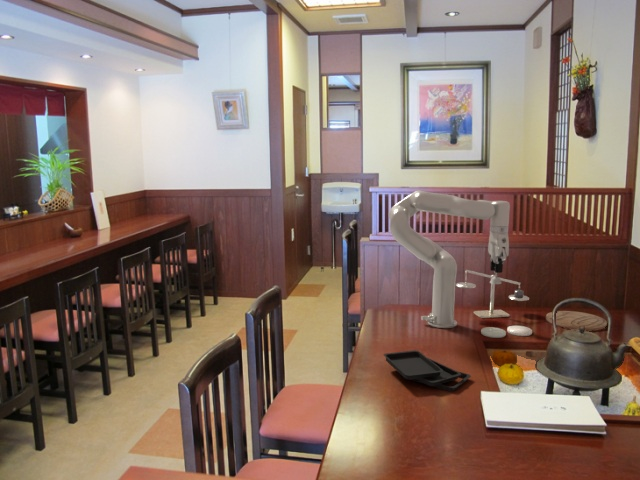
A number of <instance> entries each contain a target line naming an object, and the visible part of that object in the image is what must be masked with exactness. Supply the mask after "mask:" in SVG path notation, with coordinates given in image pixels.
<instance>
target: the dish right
mask: <svg viewBox="0 0 640 480" xmlns="http://www.w3.org/2000/svg"><path fill="white" fill-rule="evenodd" d="M506 333H508V334H510V335H513V336H519V337H528V336H531V335H532V334H533V329H532V328H530V327H527V326H523V325H510V326H507V330H506Z"/></svg>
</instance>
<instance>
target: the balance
mask: <svg viewBox="0 0 640 480" xmlns="http://www.w3.org/2000/svg"><path fill="white" fill-rule="evenodd" d="M464 272H465V282H463V281H462V282H457V283H456V282H455V287H456V288H458V289H460V288H461V289H475V288H476V287H477V285H476V284H475V283H472V282H467V276H468V273H469V274H472V275H476V276H481V277H485V278H489V279H490V280H491V279H492V277H494V276H495V274H491V275H489V274H486V273H482V272H477V271H474V270H468V269H465V271H464ZM499 278H500V280H501V282H506V283H509V284H514V285H518V289H514V294H510V295H508V299H509V300H513V301H517V302H527V301H529V300H530V297H528V296H527V295H524V294H525V293H524V292H525V291H524V290H523V289H521V282H518V281H515V280H511V279H505V278H502V277H499ZM495 287H496V284H492V283H490V298H489V309H487V310H473V314H474V315H475V316H477V317H479V318H480V319H489V318H507V317H509V318H510V314H509V313H508V312H506V311H504V310H502V309H494V308H495V307H494V304H495Z"/></svg>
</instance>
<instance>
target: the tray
mask: <svg viewBox="0 0 640 480" xmlns="http://www.w3.org/2000/svg"><path fill="white" fill-rule="evenodd" d="M383 356H384V357H385V362H387V364H389V365H390V366H391V367H392V368H393V369H394V370H395V371H396V372H397V373H399V374H400V375H401V376H402V377H403V378H404V379H406V380H410V381H414V382H418V383H420V384H424V385H426V386H429V387H435V388H437V389H441V390H444V391H447V392H454V391H456V389H457V388H459V387H460V386H462V385H463V384H464V383H466V382H467V381H468V380H469V378H471V374H469V373H465V372H461V371H457V370H454V369H452V368H450V367H448V366H447V365H444V364H442V363H440V362H437V361H436V360H433V359H432V358H430V357H427V356H426V355H425V354H423V353H422V352H421V351H419V350H414V349H413V350H407V351H405V350H404V351H397V352H388V353H384V354H383ZM459 378H462V379H461V380H460V381H458V382H457V383H456V384H454V385H453V386H449V385H446V383H449V382H452V381H456V380H458V379H459Z"/></svg>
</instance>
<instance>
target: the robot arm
mask: <svg viewBox="0 0 640 480" xmlns="http://www.w3.org/2000/svg"><path fill="white" fill-rule="evenodd" d="M510 209H511V204H510V202H509V201H505V200H485V199H478V200H474V199H468V198H467V199H466V198H463V197H459V196H457V195H452V194H448V193H446V194H444V193H437V192H430V191H425V190H420V189H419V190H415V191H413V192H411V194H409V195H407V196H406V197H404V198H403V199H402V200H400V201H398V202H397V203H396V204H395V205H394V204H393V206H391V208H390V209H389V211H388V219H389V230H390V234H391V236H392V237H393V239H394V240H395V241H396V242H397V243H398V244H400V245H401V246H402V247H403V248H405V249H406V250H407V251H408V252H410V253H411V254H413V255H414V256H415V257H416V258H417V259H418V260H420V261H423V262H425V263H426V265H427V264H428V265H429V266H430V267H431V268H433V278H432V279H433V281H432V300H431V301H432V302H431V303H432V304H431V306H432V307H431V312H429V314H427V315H421V316H420V319H421V321H426V322H427V323H428V325H429V326H431V327H434V328H438V329H439V328H440V329H452V328H455V327H457V326H458V322H457V320H455V319H454V318H455V302H456V301H455V298H456V297H455V295H456V294H455V293H456V279H457V273H458V265H457V262H456V259H455V258H454V257H453V256H452V254H450V253H449V252H448V251H446V250H445V249H443V247H441V246H440V245H438V244H437V243H436V242H434V241H433V240H432V239H430V238H428V237H426V236H423V235H421V234H420V233H418V232H417V231H416V230H415V229H413V227H411V225H410V220H411V217H413V216H414V215H416V214H417V213H418V212H424V213H425V212H427V213H434V214H440V215H449V216H453V217H462V218H467V219H468V218H469V219H476V220H489V219H490V222H489V237H488V246H487V249H488V250H487V252H488V255H489V257H490V271H491V272H492V271H493V272H494V274H495V273H497V274H500V273H501V274H502V273H503V269H504V267H503V266H504V262H505V261H506V260H507V257H508V256H509V253H510V252H509V251H510V249H509V248H510V241H509V240H510V239H509V238H510V237H509V224H510ZM490 242H491V243H496V244H495V256H497V259H496V263H494V262H493V259H492V257H491V243H490ZM500 254H501V255H502V256H500ZM499 258H500V259H499Z"/></svg>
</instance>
